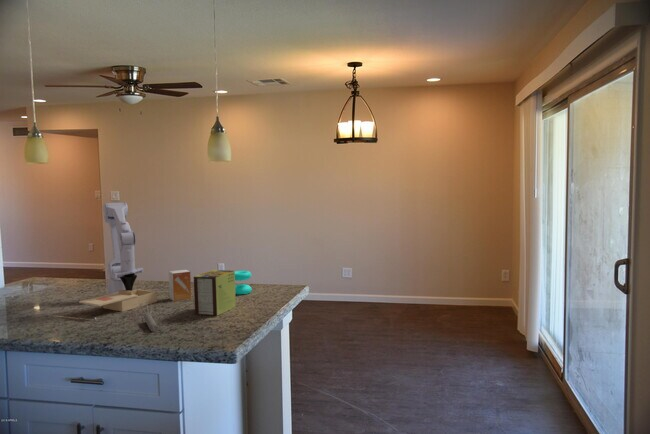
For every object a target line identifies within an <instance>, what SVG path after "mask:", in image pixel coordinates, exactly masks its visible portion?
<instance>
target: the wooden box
mask: <svg viewBox="0 0 650 434" xmlns="http://www.w3.org/2000/svg"><path fill="white" fill-rule="evenodd" d="M132 291H134V294H135V295H138V296H137V297H133V298H129V299H125V300H122V301H118V302H114V303H110V304H106V305H102V307H103V309H106V310H111V311H118V312H126V311H128V310H132V309H135V308H136V307H137V306H138V307H137V308H141V307H144V306H143V305H145V306H148V305H150V304H151V305H152V304H154V303H157V302H158V294H157V291H153V290H146V289H134V290H133V289H132ZM144 299H145V300H144ZM139 301H140V302H139ZM142 301H143V302H142ZM146 302H148V303H146ZM140 303H142V306H141V305H140ZM143 303H144V304H143ZM134 304H135V306H134ZM139 305H140V306H141V307H140V306H139Z"/></svg>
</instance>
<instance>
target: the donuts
mask: <svg viewBox="0 0 650 434" xmlns="http://www.w3.org/2000/svg"><path fill="white" fill-rule="evenodd" d="M234 271H235V282H236V281H239V282H240V281H242V282H243V281H246V280H249V279H250V278H251V277H252V273H251V271H249V270H234ZM252 291H253V289H252V287H251V286H250V285H249V284H246V283H245V284H235V296H241V295H242V294H244V295H248V294H250V293H252Z"/></svg>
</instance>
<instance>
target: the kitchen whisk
mask: <svg viewBox="0 0 650 434" xmlns="http://www.w3.org/2000/svg"><path fill="white" fill-rule="evenodd" d="M144 300H145V299H144ZM139 302H140V301H139ZM142 302H143V301H142ZM146 303H148V302H146ZM143 304H144V303H143ZM140 305H141V306H140ZM140 305H139V306H140V307H138V306H137V307H136V308H134V310H137V311H138V312H140V309H141V308H142V310H143V311H144V312H145V314H144V313H142V316H141V315H140V314H137V313H136V315H138V316H141V317H142V318H143V319H144V321H145V323H146V325H147V327H148V328H149V331H150V332H152V333H157V331H158V325H157V323H156V321H155V320H154V318H153V316H152V308H151V307H149V306H148V305H143V306H142V303H140ZM149 305H150V306H152V303H151V304H149ZM134 306H135V304H134ZM144 307H146V309H148V310H150V312H146V311H145V308H144ZM138 308H139V309H138Z"/></svg>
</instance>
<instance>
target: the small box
mask: <svg viewBox="0 0 650 434" xmlns="http://www.w3.org/2000/svg"><path fill="white" fill-rule="evenodd" d="M191 279H192V277H191V271H190V270H188V269H181V270H180V269H179V270H171V271H168V286H169V287H168V293H169V300H172V302H177V301H184V300H185V301H186V300H192V282H191Z"/></svg>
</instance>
